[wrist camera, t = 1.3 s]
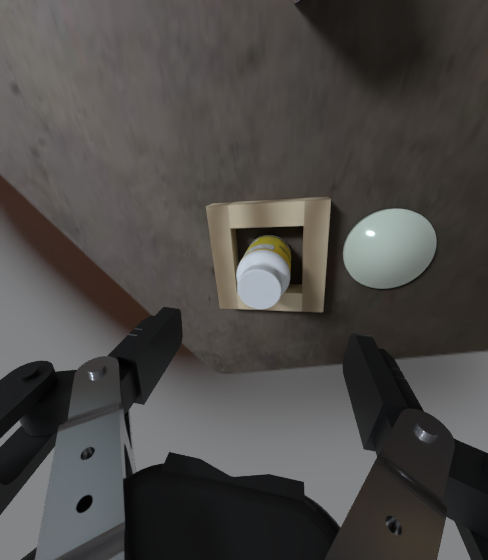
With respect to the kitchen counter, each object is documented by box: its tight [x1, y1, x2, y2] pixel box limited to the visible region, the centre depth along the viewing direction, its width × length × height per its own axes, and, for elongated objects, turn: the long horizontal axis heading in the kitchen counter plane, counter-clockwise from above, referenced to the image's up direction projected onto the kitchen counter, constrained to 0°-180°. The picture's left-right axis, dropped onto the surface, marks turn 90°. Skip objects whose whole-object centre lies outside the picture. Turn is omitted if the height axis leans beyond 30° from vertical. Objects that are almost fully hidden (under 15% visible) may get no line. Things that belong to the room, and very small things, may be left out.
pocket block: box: [206, 197, 331, 312], centre depth 29 cm, size 13×13×2 cm
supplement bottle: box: [236, 235, 291, 309], centre depth 25 cm, size 5×5×10 cm
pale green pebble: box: [343, 208, 436, 289], centre depth 26 cm, size 9×9×1 cm
